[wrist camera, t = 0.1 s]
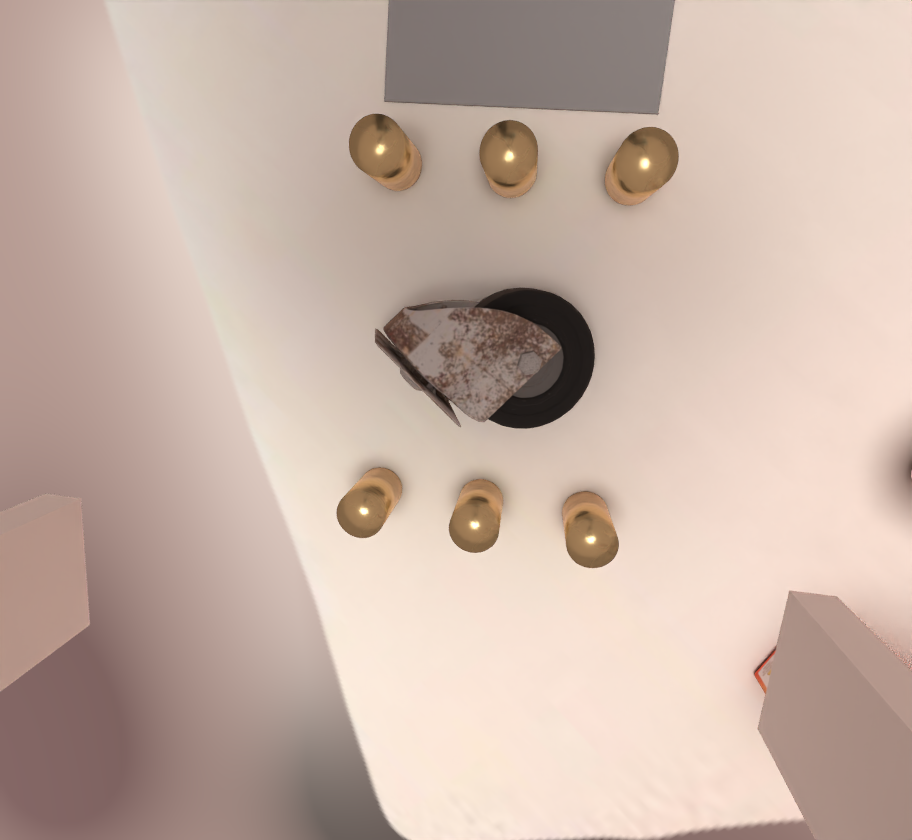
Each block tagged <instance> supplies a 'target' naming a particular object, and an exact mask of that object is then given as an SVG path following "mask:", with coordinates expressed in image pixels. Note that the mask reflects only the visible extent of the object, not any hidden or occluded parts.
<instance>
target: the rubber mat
mask: <svg viewBox="0 0 912 840" xmlns="http://www.w3.org/2000/svg"><path fill="white" fill-rule="evenodd" d="M674 1H675V0H389V10H388V32H387V54H386V76H385V98H384V101H385V102H404V103H426V104H448V105H470V106H491V107H513V108H535V109H556V110H578V111H600V112H622V113H643V114H658V112H659V105H660V98H661V91H662V84H663V77H664V71H665V64H666V57H667V50H668V43H669V36H670V29H671V22H672V15H673V8H674Z"/></svg>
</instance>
